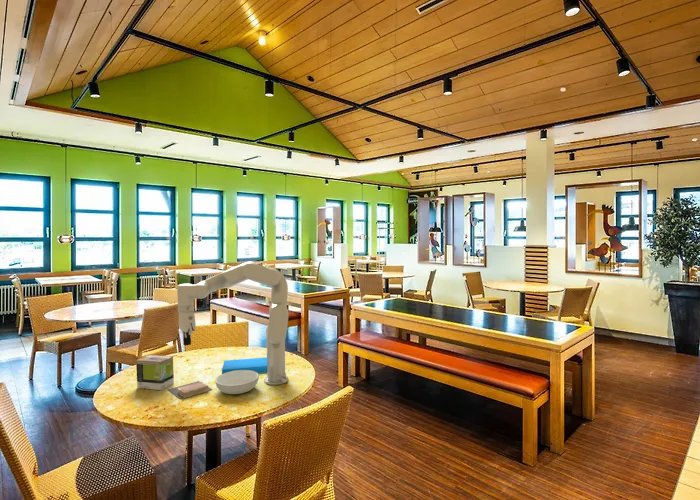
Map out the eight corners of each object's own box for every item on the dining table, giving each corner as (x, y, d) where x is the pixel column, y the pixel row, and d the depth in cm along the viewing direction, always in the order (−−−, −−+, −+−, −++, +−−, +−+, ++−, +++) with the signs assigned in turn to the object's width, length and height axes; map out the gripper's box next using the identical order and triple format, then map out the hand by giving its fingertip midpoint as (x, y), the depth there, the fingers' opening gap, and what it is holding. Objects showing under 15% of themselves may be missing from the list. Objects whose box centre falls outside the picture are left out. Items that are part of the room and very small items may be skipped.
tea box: (174, 383, 213) (173, 356, 212) (160, 391, 203) (159, 362, 202) (150, 381, 217) (149, 354, 216) (136, 388, 207) (135, 359, 206)
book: (224, 360, 239) (267, 356, 245) (224, 367, 240) (267, 363, 245) (221, 370, 223) (267, 365, 228) (221, 377, 223) (268, 373, 229)
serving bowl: (214, 386, 209) (214, 373, 209) (256, 380, 216) (255, 367, 216) (216, 402, 189) (216, 387, 189) (261, 395, 197) (261, 381, 196)
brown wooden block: (201, 386, 207) (208, 390, 201) (177, 393, 199) (184, 397, 193) (201, 381, 207) (208, 385, 201) (177, 387, 199) (184, 392, 193)
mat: (212, 390, 203) (212, 389, 203) (180, 399, 192) (180, 398, 192) (198, 382, 215) (198, 381, 215) (167, 390, 203) (167, 389, 203)
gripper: (199, 309, 200) (201, 346, 201) (187, 305, 211) (188, 340, 212) (184, 311, 195) (185, 349, 196) (172, 307, 205) (173, 343, 206)
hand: (187, 344), depth 204 cm, fingers closed
